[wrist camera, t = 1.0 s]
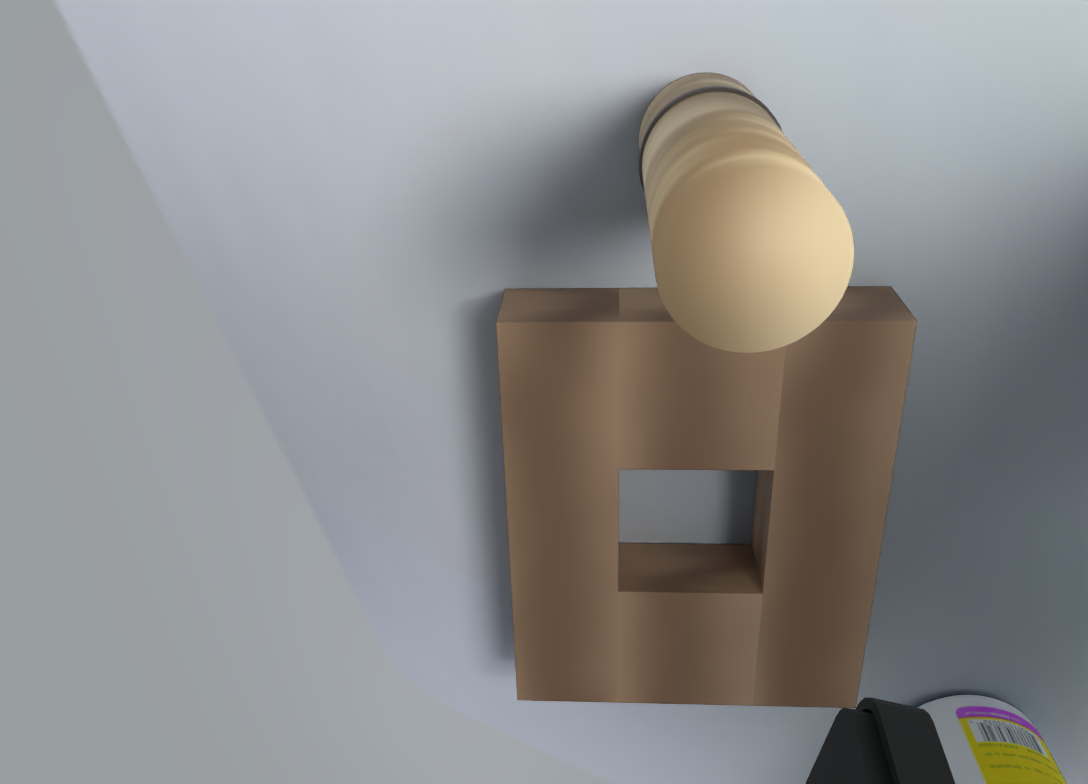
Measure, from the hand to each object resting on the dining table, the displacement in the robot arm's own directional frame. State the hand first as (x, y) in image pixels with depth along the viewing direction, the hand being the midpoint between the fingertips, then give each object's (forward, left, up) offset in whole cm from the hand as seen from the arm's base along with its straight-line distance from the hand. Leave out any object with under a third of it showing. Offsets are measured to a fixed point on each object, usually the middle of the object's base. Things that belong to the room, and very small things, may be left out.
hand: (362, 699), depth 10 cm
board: (-5, +12, -24) cm, 27 cm away
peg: (-5, -1, -24) cm, 24 cm away
